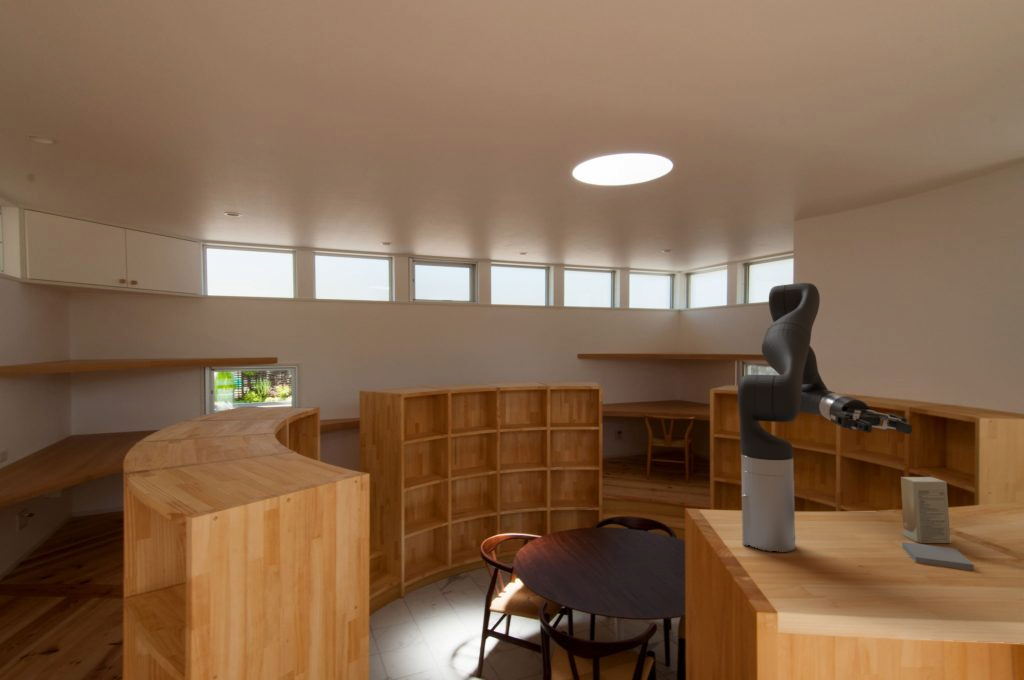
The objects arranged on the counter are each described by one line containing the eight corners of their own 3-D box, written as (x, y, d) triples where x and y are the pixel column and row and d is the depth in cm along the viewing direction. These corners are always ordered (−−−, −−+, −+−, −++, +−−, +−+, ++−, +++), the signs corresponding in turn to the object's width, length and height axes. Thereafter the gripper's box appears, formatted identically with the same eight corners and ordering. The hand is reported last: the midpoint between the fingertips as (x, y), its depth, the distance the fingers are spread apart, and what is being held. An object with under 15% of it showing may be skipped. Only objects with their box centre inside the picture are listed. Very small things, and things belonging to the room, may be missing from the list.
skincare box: (934, 536, 101) (932, 476, 102) (951, 544, 97) (949, 481, 98) (901, 535, 102) (899, 475, 103) (916, 543, 98) (914, 480, 98)
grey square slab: (915, 562, 88) (915, 556, 88) (902, 547, 95) (902, 541, 96) (973, 570, 85) (973, 564, 85) (955, 553, 92) (955, 548, 92)
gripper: (816, 395, 124) (858, 411, 108) (874, 396, 124) (925, 413, 108) (813, 424, 125) (855, 444, 109) (871, 425, 125) (921, 446, 108)
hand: (890, 429), depth 108 cm, fingers open, 8 cm apart
